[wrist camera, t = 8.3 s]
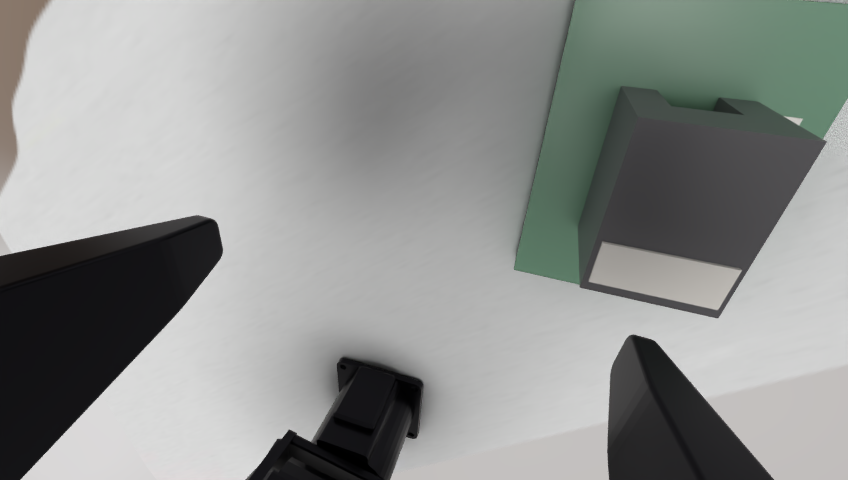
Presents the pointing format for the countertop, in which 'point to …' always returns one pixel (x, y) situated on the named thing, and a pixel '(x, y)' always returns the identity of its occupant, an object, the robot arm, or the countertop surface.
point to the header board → (673, 89)
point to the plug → (687, 198)
